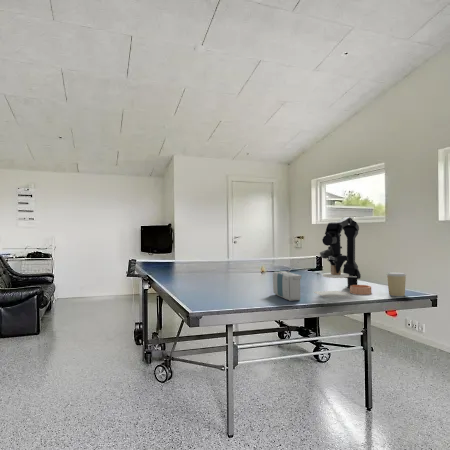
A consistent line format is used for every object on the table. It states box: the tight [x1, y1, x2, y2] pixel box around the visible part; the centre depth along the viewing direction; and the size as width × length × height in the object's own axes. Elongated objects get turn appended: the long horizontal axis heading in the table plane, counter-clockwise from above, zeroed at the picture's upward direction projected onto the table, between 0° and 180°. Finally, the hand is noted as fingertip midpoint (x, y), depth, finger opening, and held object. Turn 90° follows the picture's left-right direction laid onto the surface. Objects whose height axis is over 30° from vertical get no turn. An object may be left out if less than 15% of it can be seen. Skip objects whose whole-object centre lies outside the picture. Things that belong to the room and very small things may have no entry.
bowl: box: [349, 284, 372, 295], centre depth 197 cm, size 11×11×4 cm
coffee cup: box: [386, 271, 407, 298], centre depth 191 cm, size 9×9×12 cm
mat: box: [313, 290, 353, 298], centre depth 195 cm, size 16×16×1 cm
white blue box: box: [272, 261, 302, 302], centre depth 189 cm, size 21×8×20 cm, turn 14°
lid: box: [322, 264, 349, 279], centre depth 196 cm, size 14×14×6 cm
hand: (335, 272), depth 196 cm, fingers closed on lid, 4 cm apart
